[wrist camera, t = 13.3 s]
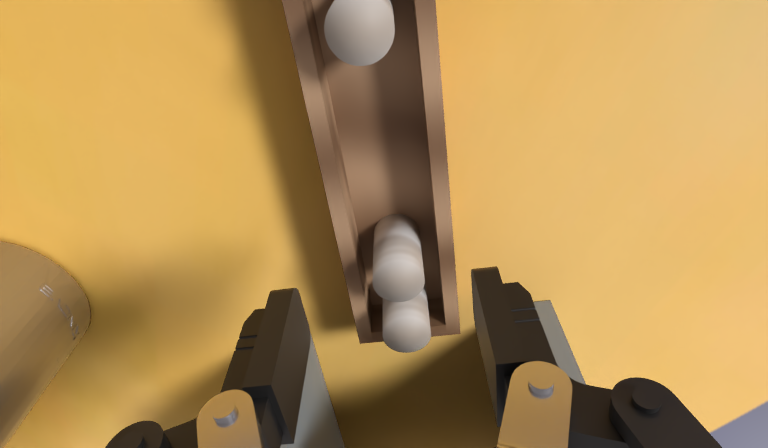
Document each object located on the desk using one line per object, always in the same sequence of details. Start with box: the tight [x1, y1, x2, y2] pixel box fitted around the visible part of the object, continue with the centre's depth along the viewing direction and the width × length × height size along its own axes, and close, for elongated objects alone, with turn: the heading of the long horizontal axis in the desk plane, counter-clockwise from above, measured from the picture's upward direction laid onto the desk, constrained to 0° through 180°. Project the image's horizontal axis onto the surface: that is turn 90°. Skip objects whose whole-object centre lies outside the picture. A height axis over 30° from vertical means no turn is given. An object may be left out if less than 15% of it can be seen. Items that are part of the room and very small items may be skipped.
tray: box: [282, 0, 460, 353], centre depth 24 cm, size 24×6×5 cm, turn 8°
